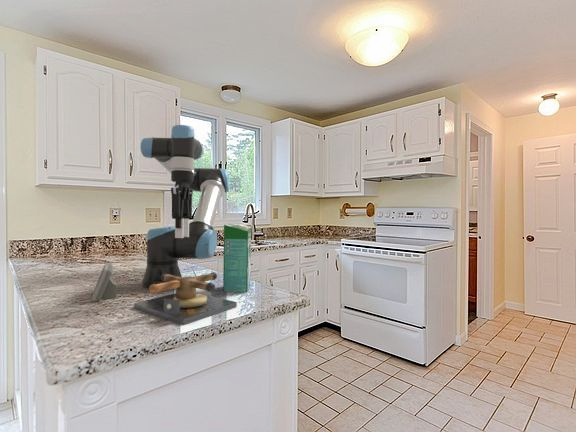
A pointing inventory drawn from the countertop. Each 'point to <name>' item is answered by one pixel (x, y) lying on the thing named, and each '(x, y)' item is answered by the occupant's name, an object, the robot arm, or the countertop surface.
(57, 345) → the countertop surface
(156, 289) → the capstan
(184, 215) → the robot arm
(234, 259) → the milk carton
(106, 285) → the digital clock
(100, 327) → the countertop surface
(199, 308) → the stand
